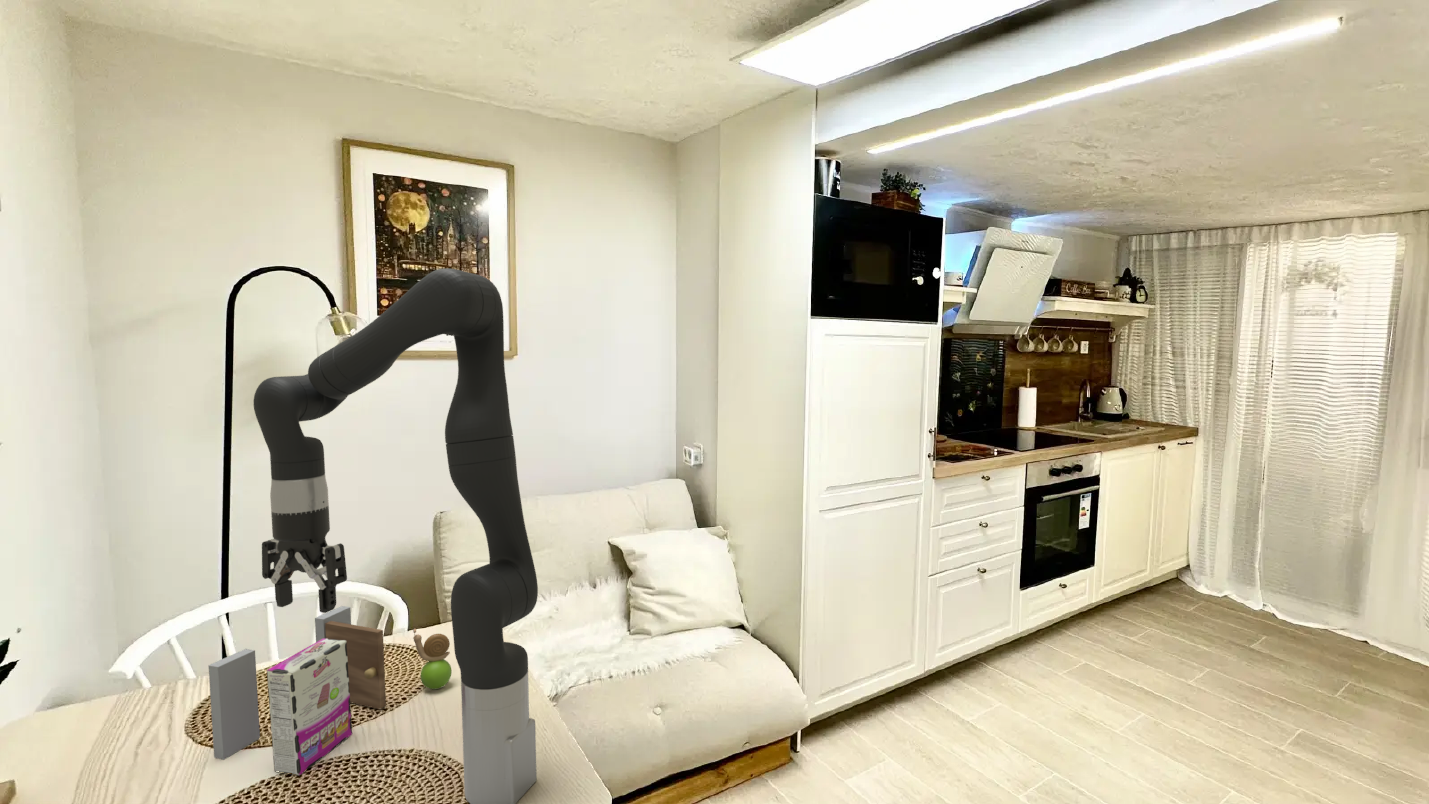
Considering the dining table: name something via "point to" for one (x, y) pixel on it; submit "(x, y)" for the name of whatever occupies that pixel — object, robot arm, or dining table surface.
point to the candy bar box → (309, 705)
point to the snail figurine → (434, 660)
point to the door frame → (245, 693)
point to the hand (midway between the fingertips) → (305, 608)
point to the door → (362, 662)
